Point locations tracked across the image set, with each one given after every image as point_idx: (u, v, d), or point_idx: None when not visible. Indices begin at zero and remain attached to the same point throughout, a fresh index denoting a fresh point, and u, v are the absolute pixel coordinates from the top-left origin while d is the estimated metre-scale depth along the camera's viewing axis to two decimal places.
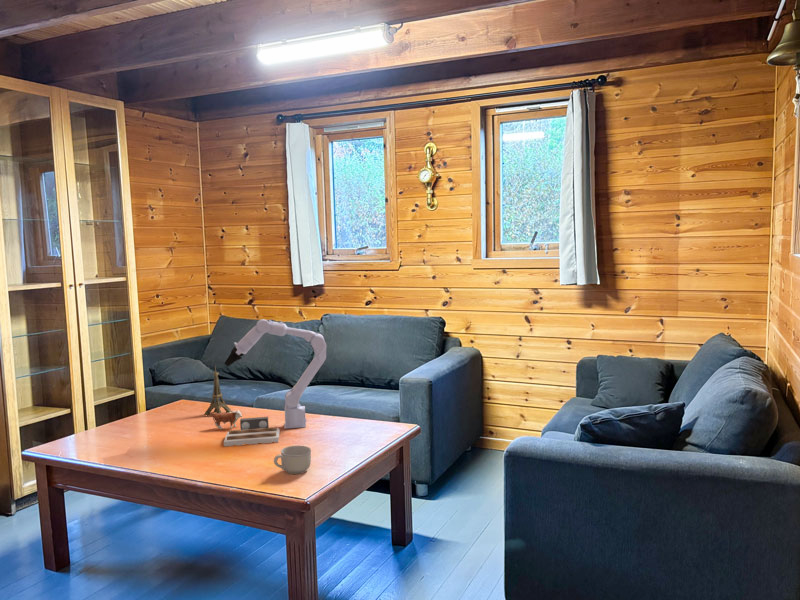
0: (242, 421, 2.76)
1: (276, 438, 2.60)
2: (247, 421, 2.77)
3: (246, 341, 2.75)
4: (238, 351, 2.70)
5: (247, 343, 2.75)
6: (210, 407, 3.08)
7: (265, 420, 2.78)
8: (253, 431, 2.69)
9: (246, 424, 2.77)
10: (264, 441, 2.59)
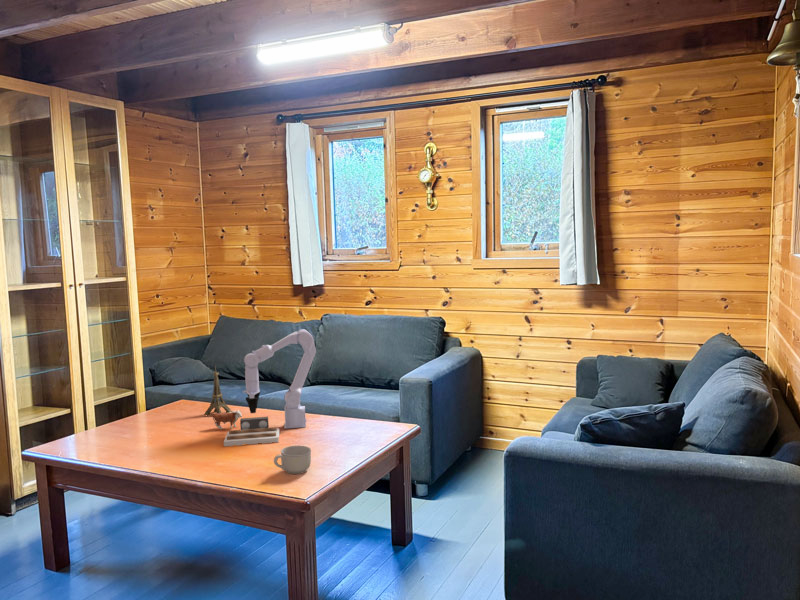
0: (242, 421, 2.77)
1: (276, 438, 2.60)
2: (247, 421, 2.77)
3: (250, 382, 2.75)
4: (250, 395, 2.71)
5: (251, 383, 2.75)
6: (210, 407, 3.08)
7: (265, 420, 2.78)
8: (253, 431, 2.69)
9: (246, 424, 2.77)
10: (264, 441, 2.59)
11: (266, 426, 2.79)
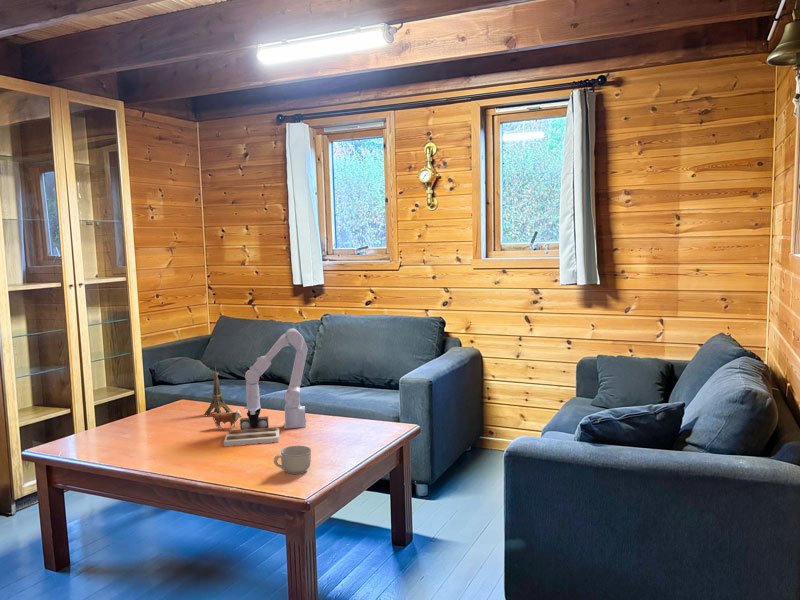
0: (242, 421, 2.76)
1: (276, 438, 2.60)
2: (247, 421, 2.77)
3: (251, 399, 2.75)
4: (251, 412, 2.71)
5: (252, 399, 2.75)
6: (210, 407, 3.08)
7: (265, 420, 2.78)
8: (253, 431, 2.69)
9: (246, 424, 2.77)
10: (264, 441, 2.59)
11: (266, 426, 2.78)
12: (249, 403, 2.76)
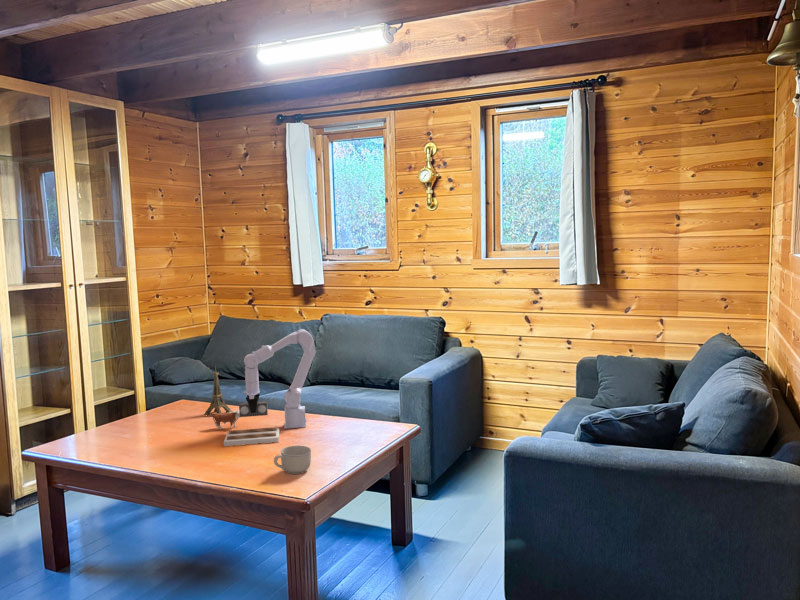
0: (241, 405, 2.75)
1: (276, 438, 2.60)
2: (246, 405, 2.76)
3: (250, 383, 2.74)
4: (250, 396, 2.70)
5: (251, 384, 2.74)
6: (210, 407, 3.08)
7: (264, 405, 2.77)
8: (253, 431, 2.69)
9: (245, 408, 2.76)
10: (264, 441, 2.59)
11: (265, 411, 2.77)
12: (248, 388, 2.75)
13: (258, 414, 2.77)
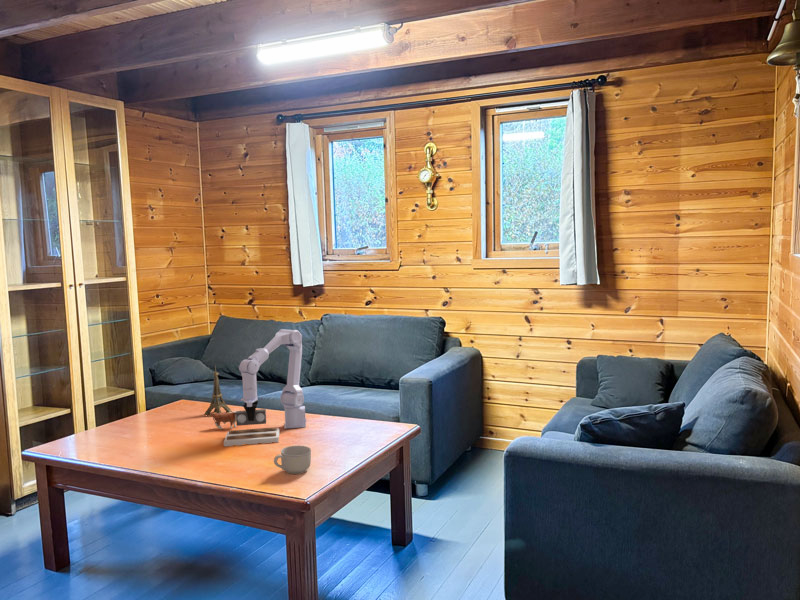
0: (238, 414, 2.62)
1: (276, 438, 2.60)
2: (243, 414, 2.62)
3: (247, 390, 2.61)
4: (248, 404, 2.57)
5: (249, 390, 2.61)
6: (210, 407, 3.08)
7: (262, 413, 2.64)
8: (253, 431, 2.69)
9: (242, 417, 2.62)
10: (264, 441, 2.59)
11: (263, 419, 2.64)
12: (246, 395, 2.61)
13: (256, 423, 2.64)
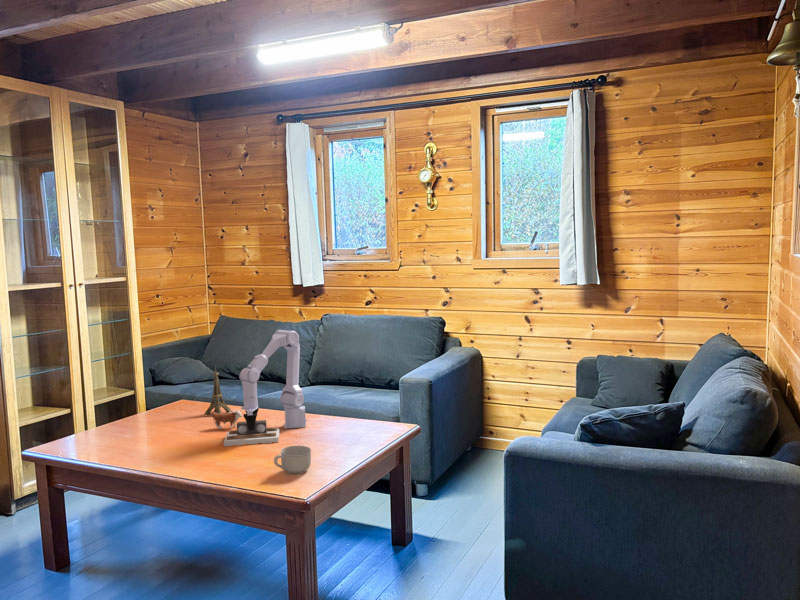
0: (239, 425, 2.62)
1: (276, 438, 2.60)
2: (244, 425, 2.63)
3: (248, 398, 2.61)
4: (249, 412, 2.57)
5: (250, 399, 2.61)
6: (210, 407, 3.08)
7: (263, 424, 2.64)
8: None
9: (243, 428, 2.63)
10: (264, 441, 2.59)
11: (264, 430, 2.64)
12: (246, 403, 2.62)
13: None
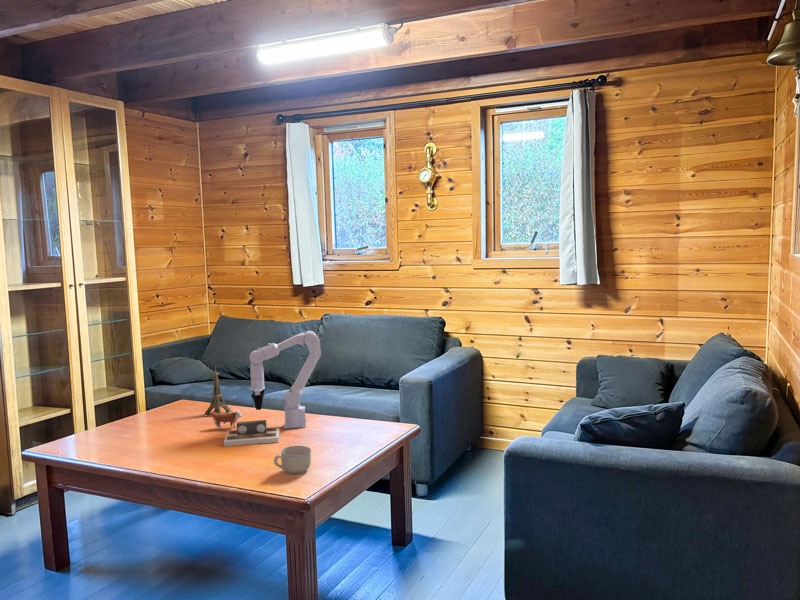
0: (239, 425, 2.62)
1: (276, 438, 2.60)
2: (244, 425, 2.63)
3: (255, 379, 2.76)
4: (256, 392, 2.72)
5: (257, 380, 2.76)
6: (210, 407, 3.08)
7: (263, 424, 2.64)
8: None
9: (243, 428, 2.63)
10: (264, 441, 2.59)
11: (264, 430, 2.64)
12: (254, 384, 2.76)
13: None
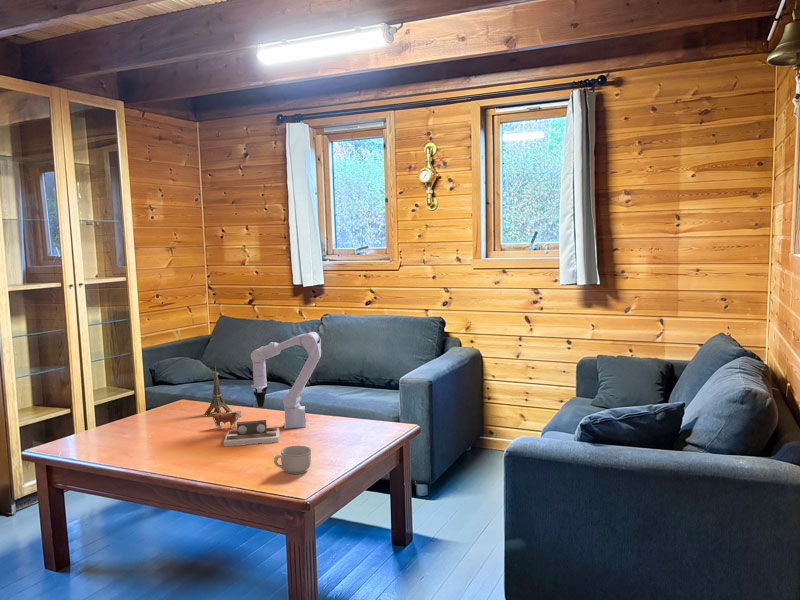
0: (239, 425, 2.62)
1: (276, 438, 2.60)
2: (244, 425, 2.63)
3: (258, 377, 2.81)
4: (258, 389, 2.77)
5: (259, 377, 2.81)
6: (210, 407, 3.08)
7: (263, 424, 2.64)
8: None
9: (243, 428, 2.63)
10: (264, 441, 2.59)
11: (264, 430, 2.64)
12: (256, 381, 2.81)
13: None
